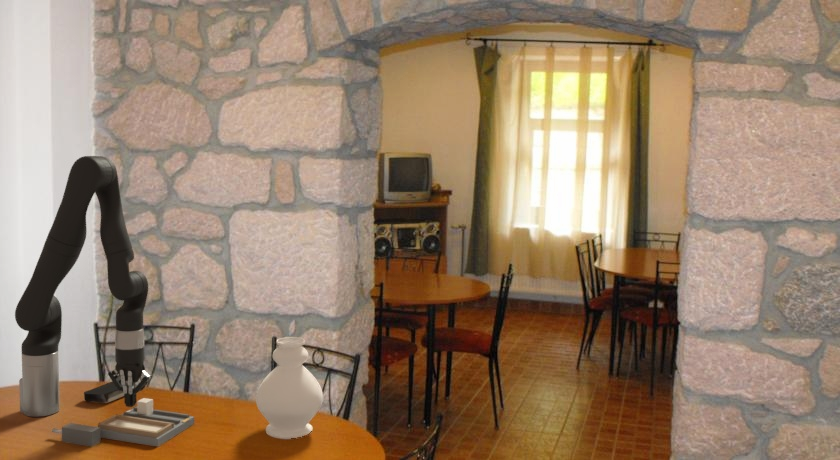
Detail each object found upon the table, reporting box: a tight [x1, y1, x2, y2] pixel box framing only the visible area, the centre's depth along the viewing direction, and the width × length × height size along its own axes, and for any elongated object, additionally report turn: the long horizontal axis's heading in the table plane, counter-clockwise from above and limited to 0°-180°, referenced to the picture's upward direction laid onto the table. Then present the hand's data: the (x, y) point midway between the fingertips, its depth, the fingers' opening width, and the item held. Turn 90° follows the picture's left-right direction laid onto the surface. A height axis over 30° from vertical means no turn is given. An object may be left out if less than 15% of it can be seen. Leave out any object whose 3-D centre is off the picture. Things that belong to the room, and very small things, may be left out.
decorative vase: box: [255, 336, 324, 440], centre depth 214 cm, size 18×18×25 cm
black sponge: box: [83, 380, 124, 404], centre depth 237 cm, size 16×8×4 cm, turn 160°
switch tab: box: [136, 397, 154, 415], centre depth 217 cm, size 3×3×4 cm
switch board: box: [97, 406, 195, 447], centre depth 212 cm, size 19×17×3 cm
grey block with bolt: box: [51, 422, 101, 448], centre depth 203 cm, size 13×3×4 cm, turn 74°
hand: (130, 406), depth 219 cm, fingers closed
